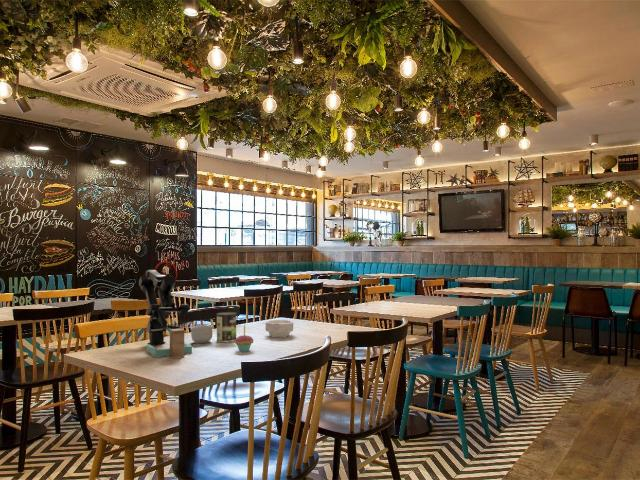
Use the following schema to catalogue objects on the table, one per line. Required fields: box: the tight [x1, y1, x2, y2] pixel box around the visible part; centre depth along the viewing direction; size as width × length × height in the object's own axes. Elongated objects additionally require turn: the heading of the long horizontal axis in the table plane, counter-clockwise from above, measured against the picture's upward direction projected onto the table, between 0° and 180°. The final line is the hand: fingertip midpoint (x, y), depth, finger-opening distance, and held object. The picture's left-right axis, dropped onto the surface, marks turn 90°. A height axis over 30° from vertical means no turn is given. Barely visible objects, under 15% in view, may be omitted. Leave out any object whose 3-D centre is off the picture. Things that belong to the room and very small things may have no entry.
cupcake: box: [234, 324, 254, 353], centre depth 223 cm, size 9×8×12 cm
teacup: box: [190, 324, 213, 344], centre depth 245 cm, size 14×11×8 cm
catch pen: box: [146, 341, 193, 358], centre depth 221 cm, size 16×16×3 cm
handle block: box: [169, 328, 185, 360], centre depth 211 cm, size 5×5×12 cm
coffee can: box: [216, 311, 238, 343], centre depth 248 cm, size 10×10×14 cm
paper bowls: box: [265, 319, 294, 338], centre depth 260 cm, size 15×15×8 cm
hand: (172, 325), depth 220 cm, fingers open, 9 cm apart
